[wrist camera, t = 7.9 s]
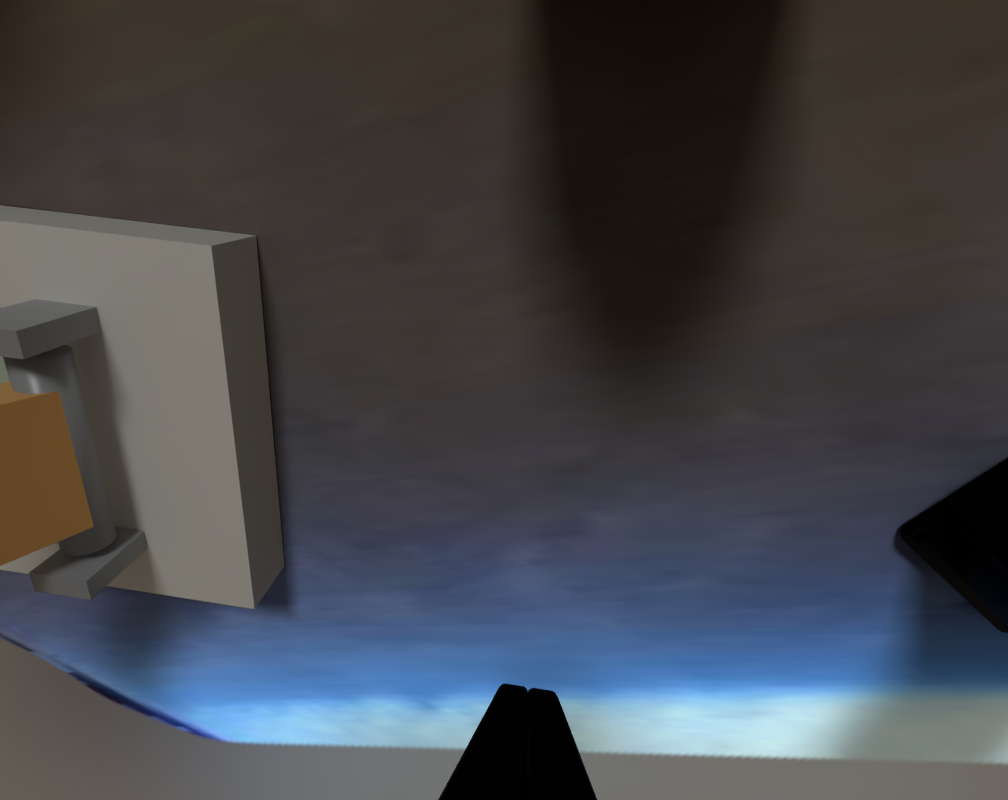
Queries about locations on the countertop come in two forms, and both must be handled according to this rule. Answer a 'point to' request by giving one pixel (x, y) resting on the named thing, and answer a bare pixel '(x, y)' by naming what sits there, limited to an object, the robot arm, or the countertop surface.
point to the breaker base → (155, 398)
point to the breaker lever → (49, 461)
